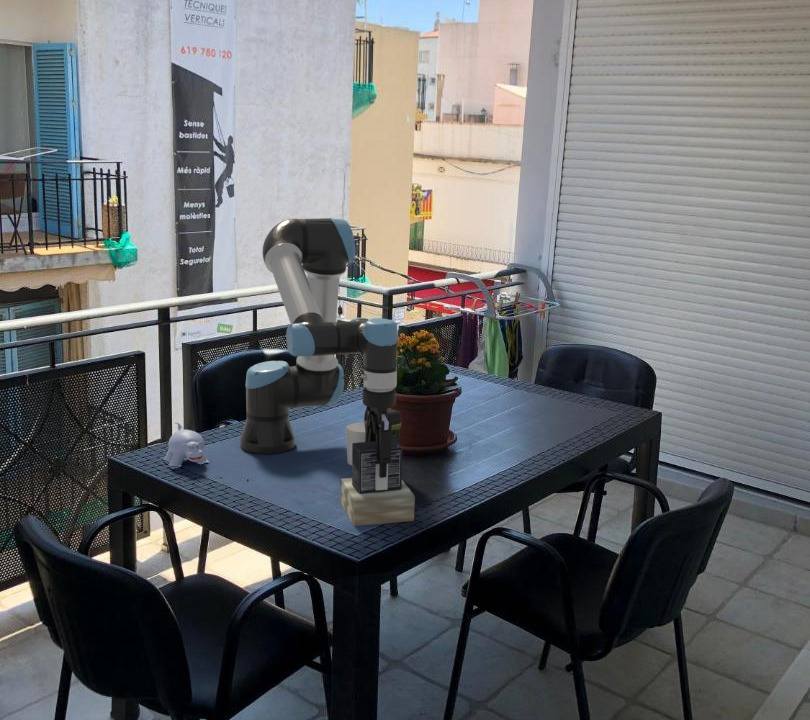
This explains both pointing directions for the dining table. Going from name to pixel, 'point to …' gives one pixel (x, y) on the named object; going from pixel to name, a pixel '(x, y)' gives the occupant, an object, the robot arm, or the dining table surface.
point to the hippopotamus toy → (185, 447)
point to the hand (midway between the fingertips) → (377, 483)
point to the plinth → (377, 515)
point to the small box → (374, 467)
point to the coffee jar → (396, 423)
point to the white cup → (354, 437)
